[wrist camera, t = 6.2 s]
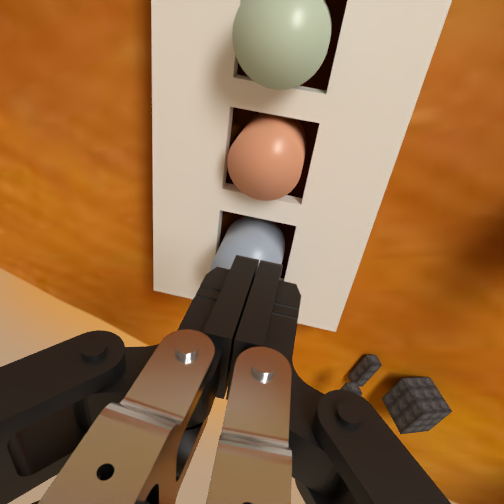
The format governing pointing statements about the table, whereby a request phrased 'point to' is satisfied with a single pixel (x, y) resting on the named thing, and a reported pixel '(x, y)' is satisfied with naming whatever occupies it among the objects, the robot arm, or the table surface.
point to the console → (287, 105)
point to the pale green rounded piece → (281, 40)
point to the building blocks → (404, 398)
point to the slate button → (250, 242)
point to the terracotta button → (268, 156)
